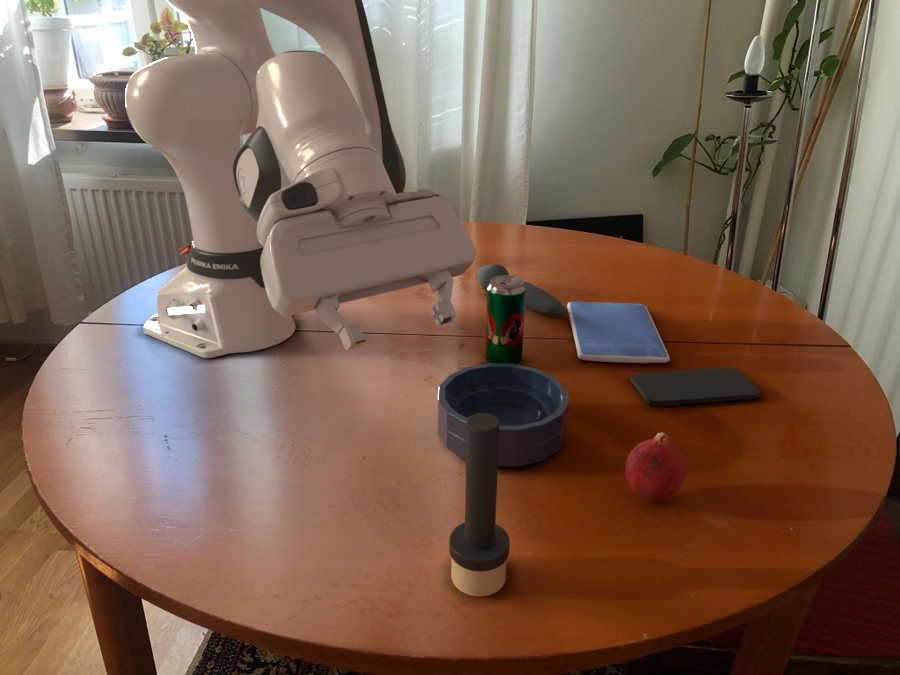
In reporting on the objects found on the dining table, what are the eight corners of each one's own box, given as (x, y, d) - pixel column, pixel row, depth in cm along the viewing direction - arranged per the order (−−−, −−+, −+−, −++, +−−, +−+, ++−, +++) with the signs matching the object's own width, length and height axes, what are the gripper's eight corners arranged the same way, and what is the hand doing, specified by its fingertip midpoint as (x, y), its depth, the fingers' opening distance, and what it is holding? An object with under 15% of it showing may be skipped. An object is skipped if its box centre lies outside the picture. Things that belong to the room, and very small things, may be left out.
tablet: (566, 307, 119) (566, 299, 118) (645, 309, 118) (646, 301, 118) (578, 364, 102) (578, 355, 101) (670, 367, 101) (672, 358, 100)
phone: (764, 394, 93) (651, 402, 91) (762, 399, 93) (650, 408, 91) (734, 366, 99) (628, 373, 97) (733, 371, 100) (627, 378, 98)
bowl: (416, 452, 83) (416, 410, 80) (467, 392, 95) (468, 354, 92) (542, 486, 77) (545, 442, 75) (579, 417, 89) (583, 378, 87)
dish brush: (439, 587, 64) (439, 430, 57) (462, 549, 69) (465, 399, 62) (495, 606, 63) (502, 446, 55) (515, 565, 67) (525, 412, 60)
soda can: (526, 357, 103) (531, 277, 98) (514, 373, 99) (518, 290, 94) (493, 350, 105) (495, 271, 100) (479, 366, 101) (481, 284, 96)
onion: (669, 526, 72) (681, 458, 68) (613, 506, 74) (621, 439, 71) (686, 494, 76) (698, 429, 73) (632, 476, 79) (641, 412, 75)
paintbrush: (578, 313, 117) (581, 283, 115) (560, 323, 113) (562, 293, 111) (481, 281, 129) (482, 254, 126) (463, 290, 125) (463, 262, 123)
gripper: (429, 203, 77) (482, 321, 74) (238, 236, 67) (290, 374, 64) (453, 169, 72) (511, 294, 69) (250, 199, 62) (307, 348, 59)
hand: (403, 333), depth 67 cm, fingers open, 8 cm apart
